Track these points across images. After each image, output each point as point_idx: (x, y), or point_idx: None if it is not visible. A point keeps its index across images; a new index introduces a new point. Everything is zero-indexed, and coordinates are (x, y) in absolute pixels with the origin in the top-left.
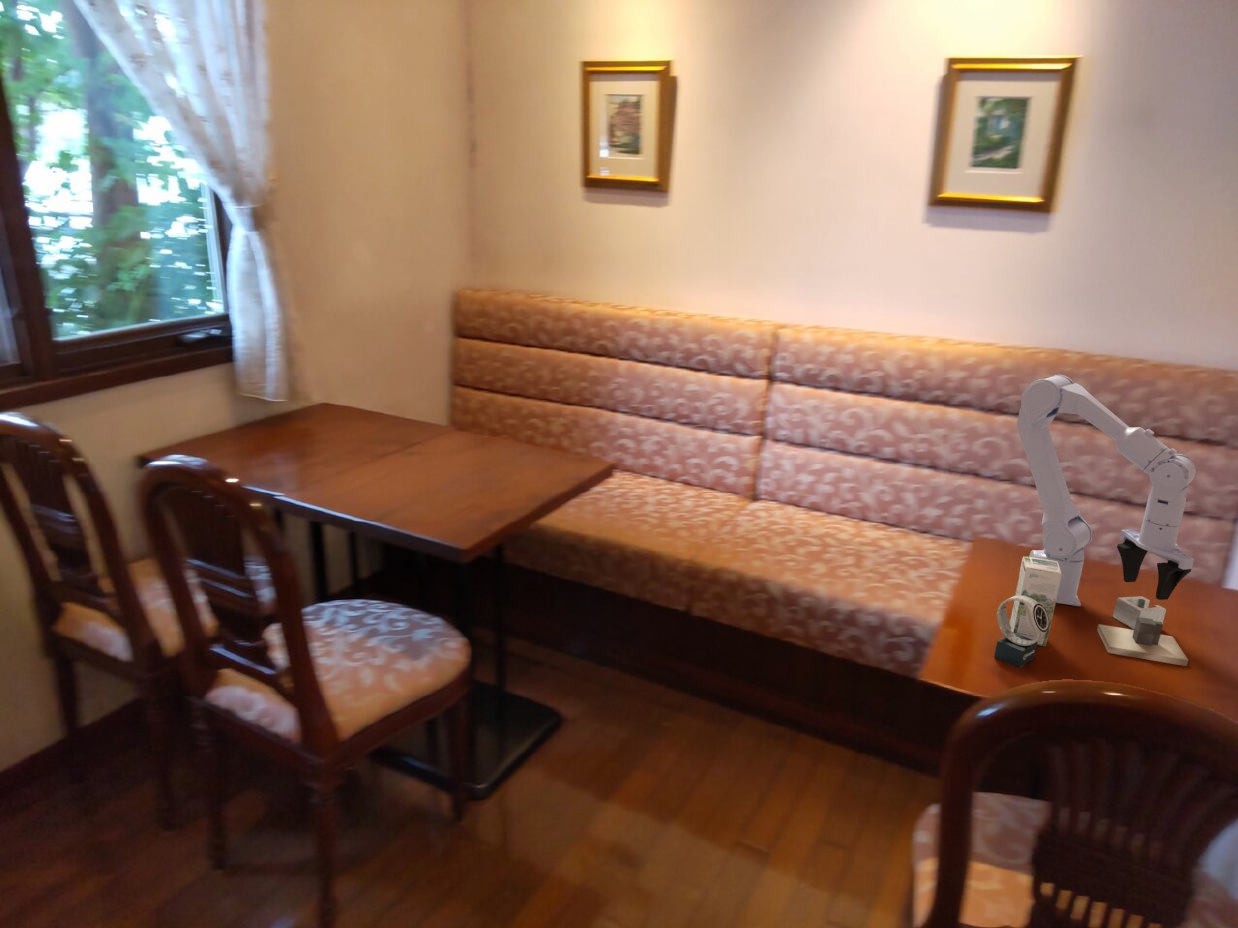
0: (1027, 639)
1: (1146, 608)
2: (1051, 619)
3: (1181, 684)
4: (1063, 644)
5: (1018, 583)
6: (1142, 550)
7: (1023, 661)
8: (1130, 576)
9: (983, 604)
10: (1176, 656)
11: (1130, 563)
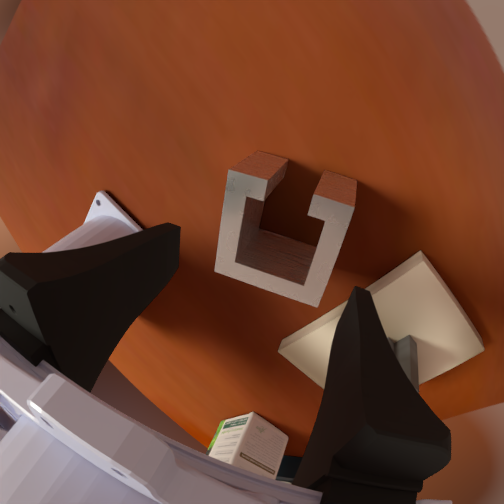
0: (286, 479)
1: (313, 269)
2: (275, 478)
3: (481, 397)
4: (295, 418)
5: None
6: (62, 320)
7: None
8: (164, 269)
9: (149, 380)
10: (462, 355)
11: (122, 315)
